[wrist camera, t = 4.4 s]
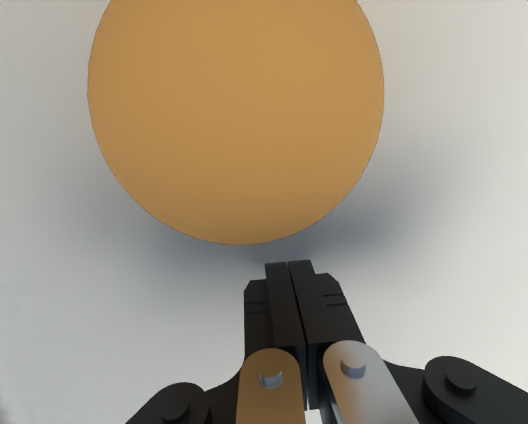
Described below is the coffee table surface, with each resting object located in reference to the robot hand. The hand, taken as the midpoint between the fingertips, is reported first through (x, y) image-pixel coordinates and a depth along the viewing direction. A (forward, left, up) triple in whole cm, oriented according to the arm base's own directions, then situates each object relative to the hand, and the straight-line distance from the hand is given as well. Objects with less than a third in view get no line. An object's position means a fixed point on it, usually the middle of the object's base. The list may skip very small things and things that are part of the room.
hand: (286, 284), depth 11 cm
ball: (-1, +6, +1) cm, 6 cm away
